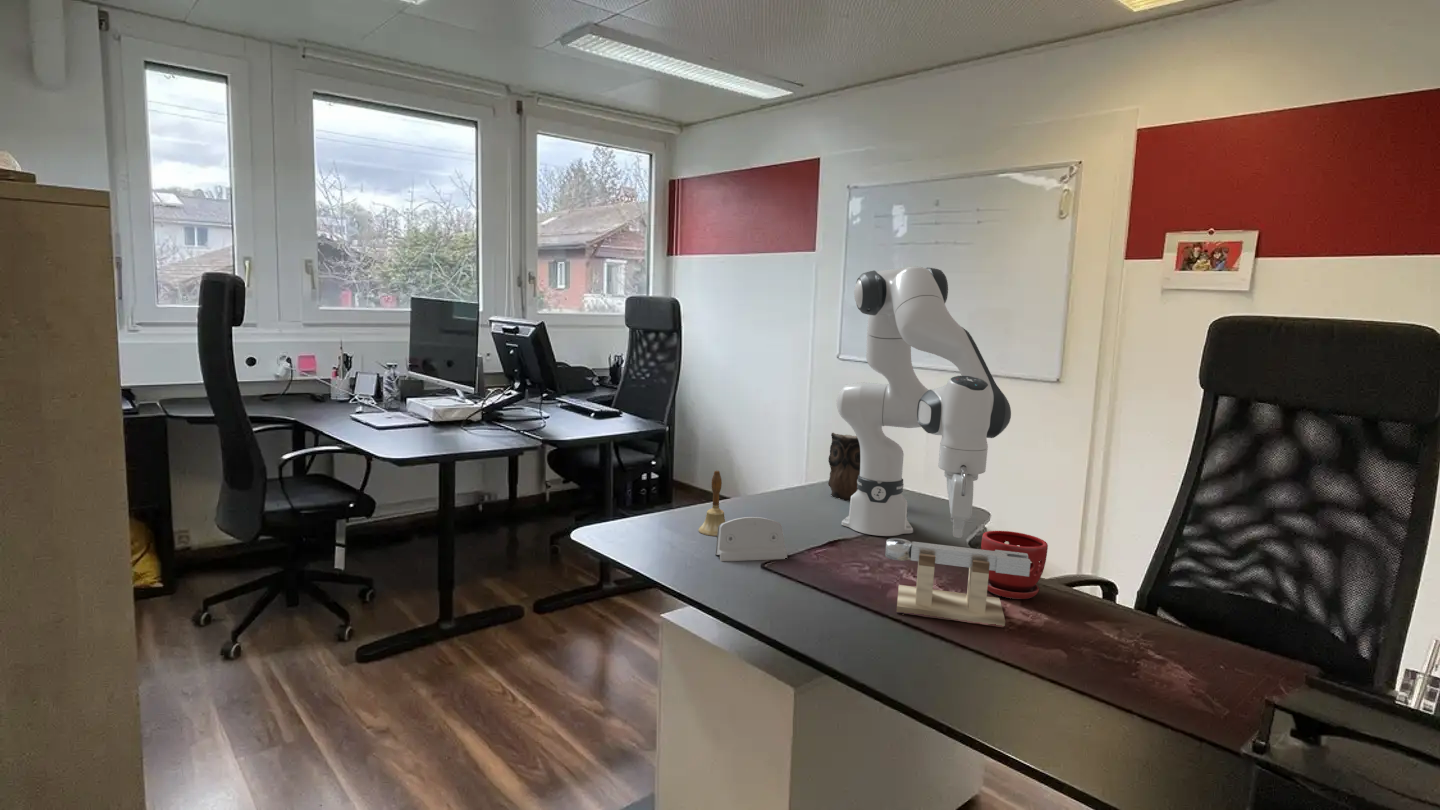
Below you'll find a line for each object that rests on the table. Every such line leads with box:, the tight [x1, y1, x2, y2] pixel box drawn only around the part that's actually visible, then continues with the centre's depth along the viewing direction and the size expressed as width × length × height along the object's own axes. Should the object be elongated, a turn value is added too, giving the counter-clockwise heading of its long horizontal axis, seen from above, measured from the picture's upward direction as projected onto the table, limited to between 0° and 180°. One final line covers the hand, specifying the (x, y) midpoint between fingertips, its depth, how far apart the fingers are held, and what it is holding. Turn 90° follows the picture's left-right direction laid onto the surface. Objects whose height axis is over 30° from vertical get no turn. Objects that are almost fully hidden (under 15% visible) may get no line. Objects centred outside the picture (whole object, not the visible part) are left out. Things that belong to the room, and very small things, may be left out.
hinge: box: [714, 516, 788, 562], centre depth 181 cm, size 17×5×10 cm, turn 103°
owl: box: [828, 432, 860, 501], centre depth 238 cm, size 13×13×20 cm
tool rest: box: [896, 554, 1006, 626], centre depth 153 cm, size 12×20×12 cm, turn 75°
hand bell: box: [697, 470, 726, 537], centre depth 198 cm, size 8×8×16 cm
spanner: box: [884, 537, 1031, 577], centre depth 153 cm, size 27×5×3 cm, turn 75°
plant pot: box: [980, 530, 1049, 600], centre depth 165 cm, size 13×13×12 cm
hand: (956, 529), depth 152 cm, fingers open, 8 cm apart
